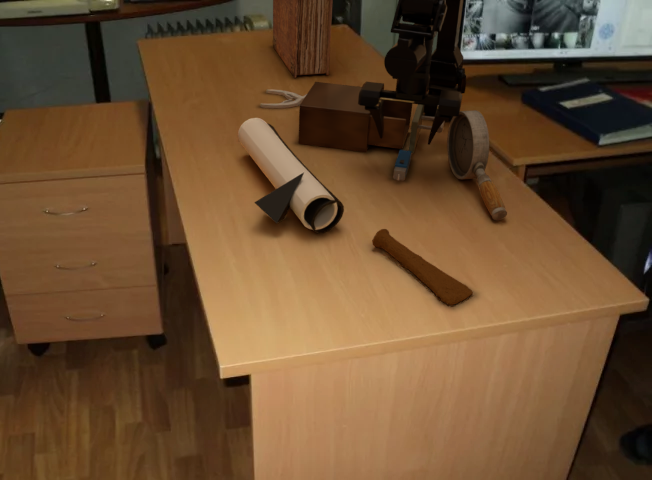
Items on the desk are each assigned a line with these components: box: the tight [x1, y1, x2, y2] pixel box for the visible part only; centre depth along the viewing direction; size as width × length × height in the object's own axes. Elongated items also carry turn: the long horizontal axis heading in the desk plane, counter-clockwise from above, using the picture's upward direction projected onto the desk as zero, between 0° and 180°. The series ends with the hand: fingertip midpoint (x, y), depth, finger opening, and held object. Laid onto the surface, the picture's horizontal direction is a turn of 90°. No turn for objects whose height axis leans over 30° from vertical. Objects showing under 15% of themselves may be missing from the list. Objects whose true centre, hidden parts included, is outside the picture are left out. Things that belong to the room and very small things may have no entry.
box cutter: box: [392, 149, 413, 182], centre depth 145 cm, size 10×2×3 cm, turn 164°
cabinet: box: [298, 81, 371, 153], centre depth 157 cm, size 15×14×9 cm
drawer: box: [368, 100, 446, 154], centre depth 154 cm, size 18×13×7 cm
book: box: [272, 0, 333, 79], centre depth 188 cm, size 25×9×30 cm, turn 13°
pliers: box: [259, 89, 307, 109], centre depth 174 cm, size 10×2×15 cm
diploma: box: [237, 117, 345, 234], centre depth 135 cm, size 35×9×14 cm
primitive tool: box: [371, 228, 474, 306], centre depth 116 cm, size 19×6×4 cm, turn 39°
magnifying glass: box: [446, 109, 508, 221], centre depth 137 cm, size 13×3×25 cm
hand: (405, 140), depth 142 cm, fingers open, 9 cm apart
